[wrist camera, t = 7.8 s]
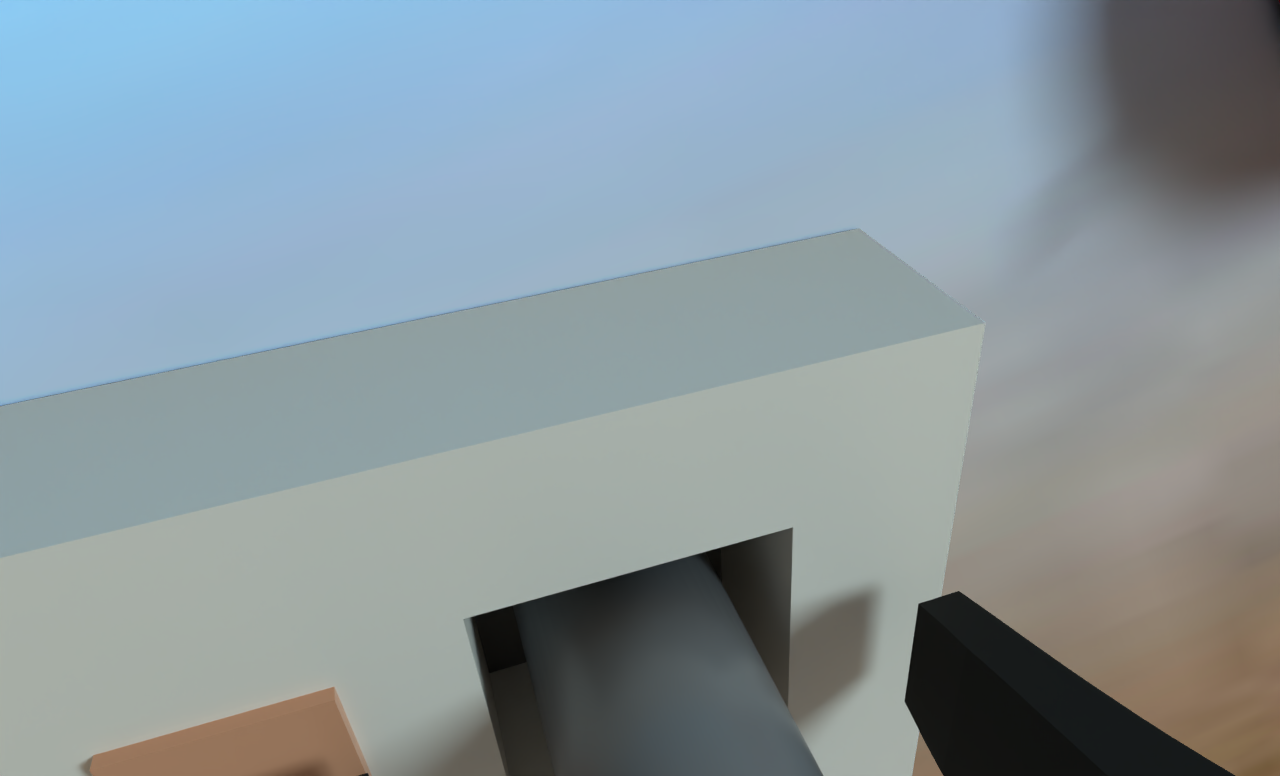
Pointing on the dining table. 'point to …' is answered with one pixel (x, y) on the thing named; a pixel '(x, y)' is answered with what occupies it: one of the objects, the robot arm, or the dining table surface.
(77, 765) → the socket block
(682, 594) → the plug
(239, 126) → the dining table surface
